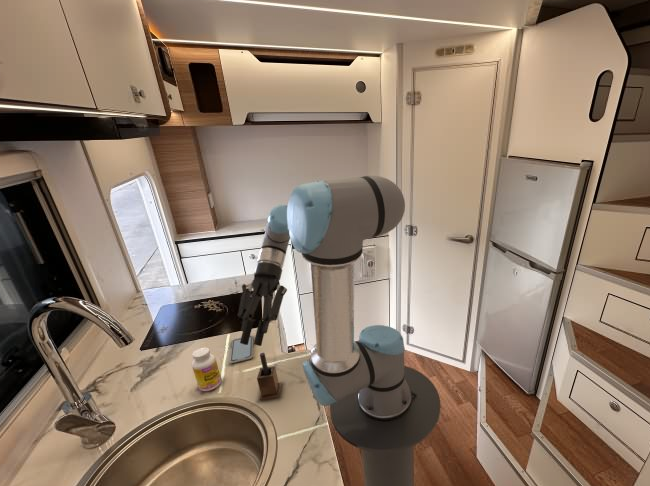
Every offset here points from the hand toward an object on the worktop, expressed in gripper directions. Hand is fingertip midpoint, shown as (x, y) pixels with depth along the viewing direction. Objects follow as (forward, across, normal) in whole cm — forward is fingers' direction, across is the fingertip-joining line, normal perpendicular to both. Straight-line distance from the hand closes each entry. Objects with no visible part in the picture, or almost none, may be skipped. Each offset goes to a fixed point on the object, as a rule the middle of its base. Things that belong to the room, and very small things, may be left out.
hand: (250, 344), depth 86 cm
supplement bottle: (+11, +22, -18) cm, 31 cm away
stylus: (+11, 0, -17) cm, 20 cm away
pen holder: (+12, 0, -18) cm, 21 cm away
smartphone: (-1, +22, -31) cm, 38 cm away
